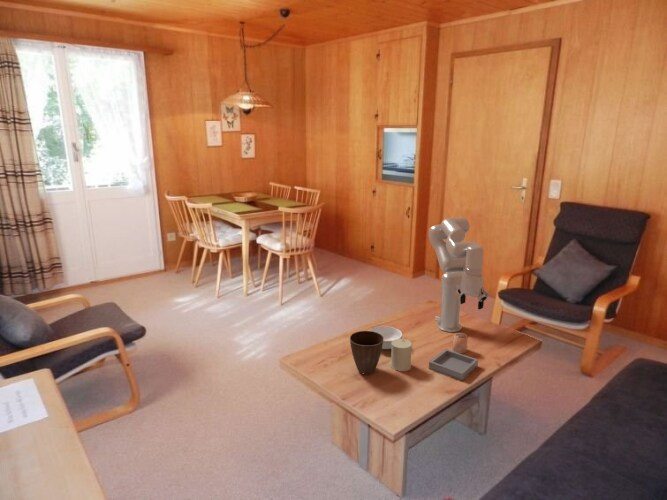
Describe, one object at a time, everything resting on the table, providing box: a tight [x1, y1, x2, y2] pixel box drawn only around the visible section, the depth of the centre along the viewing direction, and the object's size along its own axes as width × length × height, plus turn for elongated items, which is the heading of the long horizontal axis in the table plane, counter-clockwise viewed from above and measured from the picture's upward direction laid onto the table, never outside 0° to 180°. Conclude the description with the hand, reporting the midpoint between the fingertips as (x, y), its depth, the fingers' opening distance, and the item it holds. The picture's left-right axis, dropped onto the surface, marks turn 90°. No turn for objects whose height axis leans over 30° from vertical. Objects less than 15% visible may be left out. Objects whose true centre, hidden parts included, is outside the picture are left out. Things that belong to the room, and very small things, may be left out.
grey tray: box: [428, 348, 479, 382], centre depth 204 cm, size 16×16×4 cm
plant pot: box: [349, 330, 384, 375], centre depth 201 cm, size 15×15×16 cm
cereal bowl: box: [368, 325, 403, 350], centre depth 225 cm, size 17×17×7 cm
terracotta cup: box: [452, 332, 468, 355], centre depth 219 cm, size 6×6×8 cm
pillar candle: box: [390, 338, 412, 372], centre depth 205 cm, size 9×9×12 cm
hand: (471, 306), depth 216 cm, fingers open, 9 cm apart
